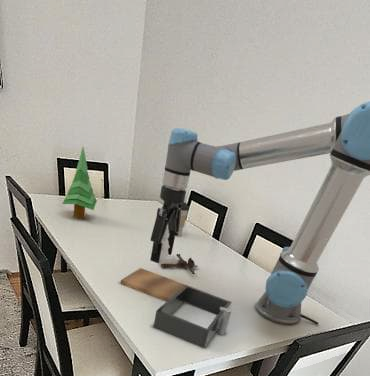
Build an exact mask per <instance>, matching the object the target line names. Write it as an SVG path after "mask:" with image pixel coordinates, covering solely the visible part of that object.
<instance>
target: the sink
mask: <svg viewBox="0 0 370 376" xmlns="http://www.w3.org/2000/svg"><path fill="white" fill-rule="evenodd" d="M184 303H186V304H189V305H192V306H194V307H197V308H198V309H199V308H200V309H202V310H205V311H207V312H210V313H212V314H215V315H216V317H215V318H214V319H213V320H212V321H211V323H210V324H209V325H208V327H207V328H206V327H204V326H201V325H198V324H196V323H193V322H191V321H188V320H186V319H184V318H181V317H179V316H175V315H174V314H173V313H174V312H175V311H176V310H177V309H179V307H180V306H181V305H182V304H184ZM231 306H232V301H230V300H227V299H224V298H222V297H219V296H216V295H214V294H212V293H209V292H206V291H203V290H201V289H198V288H196V287H193V286H190V285H187V284H185V286H184V287H183V288H182V289H181V290H180V291H179V292H177V293H176V294H175V295H174V296H173V297H172V298H170V299H169V300H168V301H165V303H163V304H162V305H160V307H158V308H157V310H156V312H155V317H154V321H153V328H155V329H157V330H160V331H163V332H164V333H167V334H170V335H173V336H174V337H177V338H180V339H182V340H183V341H186V342H189V343H192V344H193V345H195V346H196V345H197V346H198V347H201V348H206V346H207V345H208V343H210V341H211V339H212V338H213V337H214V336H215V334H216V332H217V334H218V335H221V336H223V335H225V333H226V331H227V327H228V324H229V321H230V317H231V314H232V309H230V308H231Z"/></svg>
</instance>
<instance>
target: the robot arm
mask: <svg viewBox="0 0 370 376" xmlns="http://www.w3.org/2000/svg"><path fill="white" fill-rule="evenodd" d="M328 154H329V160H330V163H331V164H330V166H329V169H328V171H327V173H326V174H325V177H324V178H323V182H322V183H321V185H320V187H319V189H318V191H317V193H316V195H315V197H314V199H313V201H312V203H311V205H310V207H309V209H308V211H307V213H306V214H305V217H304V219H303V221H302V223H301V225H300V226H299V228H298V231H297V233H296V234H295V237H294V239H293V240H292V243H291V244H290V246H284V247H283V248H282V249H281V252H279V257H278V259H277V261H276V263H275V265H274V267H273V269H272V271H271V273H270V275H269V276H268V277H267V279H266V282H265V292H264V293H263V294H262V295H261V297H260V298H259V299H258V301H257V303H256V311H257V312H258V313H259V315H261V316H262V317H264V318H266V319H267V320H269V321H272V322H274V323H278V324H282V325H295V324H297V323H298V322H299V320H300V318H302V319H305V320H307V321H309V322H311V323H313V324H315V325H319V322H318V321H316V320H314V319H312V318H310V317H308V316H306V315H305V314H302V302H303V301H304V300H305V299H306V297H307V295H308V291H309V288H310V287H311V284H312V283H313V281H314V280H315V278H316V276H317V274H318V272H319V270H320V268H319V265H318V261H319V259H320V257H321V256H322V254H323V253H324V251H325V248H326V247H327V245H328V243H329V242H330V239H332V237H333V234H334V232H335V230H336V229H337V227H338V225H339V224H340V222H341V220H342V218H343V216H344V215H345V213H346V211H347V209H348V207H349V205H350V204H351V203H352V200H353V198H354V197H355V195H356V193H357V191H358V190H359V188H360V186H361V184H362V183H363V180H364V179H365V178H366V177H369V176H370V101H366V102H364V103H361V104H360V105H358V106H357V107H354V109H352V111H351V112H350V113H347V114H344V115H339V116H335V117H334V118H333V119H332V120H331V122H327V123H322V124H318V125H314V126H308V127H304V128H303V127H302V128H299V129H294V130H290V131H286V132H281V133H280V132H279V133H276V134H271V135H267V136H261V137H258V138H252V139H249V140H244V141H243V140H242V141H240V142H239V141H238V142H234V143H229V144H223V145H216V146H215V145H211V144H207V143H204V142H203V143H202V142H201V141H199V140H198V133H197V132H195V131H192V130H189V129H185V128H180V127H175V128H173V129H172V130H171V132H170V136H169V141H168V144H167V151H166V159H165V165H164V170H163V171H162V185H161V188H160V194H159V198H160V200H162V201H163V204H162V206H161V208H160V207H158V208H157V211H156V216H155V221H154V224H153V229H152V233H151V236H150V242H152V247H153V248H152V247H151V249H152V254H151V259H150V258H149V259H150V262H153V263H155V262H156V264H158V263H159V259H160V254H161V248H162V243H161V242H162V239H163V236H164V233H165V231H166V228H167V227H168V230H169V234H170V235H169V238H167V239H168V243H169V246H170V248H168V254H169V256H172V253H173V249H174V244H175V239H176V237H179V236H178V234H179V233H177V232H179V225H180V217H181V209H182V205H183V204H182V203H184V202H185V201H186V195H187V191H186V190H187V189H188V187H189V182H190V181H189V180H190V176H191V171H193V172H196V173H199V174H202V175H206V176H210V177H212V178H214V179H217V180H218V179H220V180H225V181H227V180H229V179H230V178H231V177H232V176H233V173H234V172H237V171H241V170H246V169H250V168H256V167H262V166H267V165H273V164H279V163H285V162H291V161H294V160H295V161H296V160H301V159H306V158H312V157H317V156H323V155H328ZM176 227H177V228H176ZM159 264H160V263H159Z"/></svg>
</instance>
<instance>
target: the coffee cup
mask: <svg viewBox="0 0 370 376" xmlns="http://www.w3.org/2000/svg"><path fill="white" fill-rule="evenodd" d="M182 204H183V205H182V209H181V217H180V225H179V232H177V233H179V234H178V236H177V237H181V236H182V233H183V229H184V227H185V223H186V220H187V216H188V212H189V208H190V207H189V205H188V202H185V201H184V203H182ZM167 228H168V226H167ZM176 228H177V227H176Z"/></svg>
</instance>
